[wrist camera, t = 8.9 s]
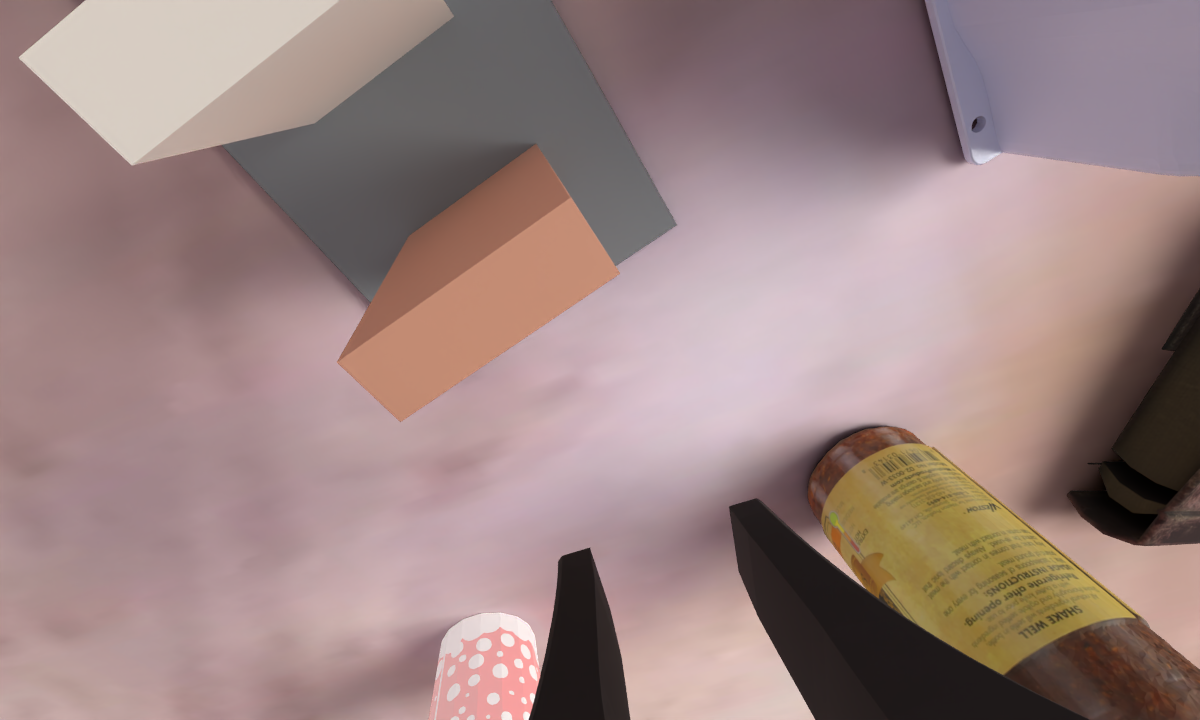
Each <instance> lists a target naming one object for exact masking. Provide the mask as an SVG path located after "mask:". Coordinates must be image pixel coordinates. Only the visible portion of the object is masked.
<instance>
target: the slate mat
mask: <svg viewBox="0 0 1200 720" xmlns="http://www.w3.org/2000/svg"><path fill="white" fill-rule="evenodd" d="M444 1H445V3H446V4H447V6H448V7H449V9H450V11H451V12H452V14H453V15H454V17H453V18H452V19H450V20H449V21H448V22H446V23H445V24H444V25H442V26H441V27H440V28H439V29H437V30H436V31H435V32H433V33H432V34H431V35H429V36H428V37H427V38H425V39H424V40H423V41H422V42H420V43H419V44H418V45H416V46H415V47H414V48H412V49H411V50H410V51H409V52H407V53H406V54H405V55H403V56H402V57H401V58H399V59H398V60H397V61H395V62H394V63H393V64H392V65H390V66H389V67H388V68H386V69H385V70H384V71H382V72H381V73H380V74H378V75H377V76H376V77H375V78H373V79H372V80H371V81H369V82H368V83H367V84H365V85H364V86H363V87H362V88H360V89H359V90H358V91H356V92H355V93H354V94H352V95H351V96H350V97H348V98H347V99H346V100H345V101H343V102H342V103H341V104H339V105H338V106H337V107H335V108H334V109H333V110H331V111H330V112H329V113H328V114H326V115H325V116H324V117H322V118H321V119H320V120H318V121H317V122H316V123H314V124H310V125H305V126H301V127H297V128H292V129H288V130H284V131H279V132H275V133H271V134H266V135H262V136H258V137H253V138H249V139H245V140H240V141H236V142H232V143H227V144H223V145H222V146H223V147H224V148H225V149H226V150H227V151H228V152H229V153H230V155H231V156H232V157H233V158H234V159H235V160H236V161H237V162H238V163H239V164H240V165H241V166H242V167H243V168H244V169H245V170H246V171H247V172H248V174H249V175H250V176H251V177H252V178H253V179H254V180H255V181H256V182H257V183H258V184H259V185H260V186H261V187H262V188H263V189H264V190H265V192H266V193H267V194H268V195H269V196H270V197H271V198H272V199H273V200H274V201H275V202H276V203H277V204H278V205H279V206H280V207H281V208H282V209H283V211H284V212H285V213H286V214H287V215H288V216H289V217H290V218H291V219H292V220H293V221H294V222H295V223H296V224H297V225H298V226H299V227H300V229H301V230H302V231H303V232H304V233H305V234H306V235H307V236H308V237H309V238H310V239H311V240H312V241H313V242H314V243H315V244H316V245H317V246H318V248H319V249H320V250H321V251H322V252H323V253H324V254H325V255H326V256H327V257H328V258H329V259H330V260H331V261H332V262H333V263H334V264H335V266H336V267H337V268H338V269H339V270H340V271H341V272H342V273H343V274H344V275H345V276H346V277H347V278H348V279H349V280H350V281H351V282H352V283H353V285H354V286H355V287H356V288H357V289H358V290H359V291H360V292H361V293H362V294H363V295H364V296H365V297H366V298H367V299H368V300H369V301H370V303H371V302H372V300H373V298H374V296H375V294H376V293H377V291H378V289H379V287H380V286H381V284H382V282H383V280H384V279H385V277H386V275H387V273H388V272H389V270H390V268H391V266H392V265H393V263H394V261H395V259H396V258H397V256H398V254H399V252H400V251H401V249H402V247H403V245H404V244H405V242H406V240H407V238H408V237H409V236H410V235H411V234H412V233H414V232H415V231H416V230H418V229H419V228H421V227H422V226H423V225H425V224H426V223H427V222H429V221H430V220H432V219H433V218H434V217H436V216H437V215H438V214H440V213H441V212H443V211H444V210H445V209H447V208H448V207H449V206H451V205H452V204H454V203H455V202H456V201H458V200H459V199H460V198H462V197H463V196H465V195H466V194H467V193H469V192H470V191H471V190H473V189H474V188H476V187H477V186H478V185H480V184H481V183H483V182H484V181H485V180H487V179H488V178H489V177H491V176H492V175H494V174H495V173H496V172H498V171H499V170H500V169H502V168H503V167H505V166H506V165H507V164H509V163H510V162H511V161H513V160H514V159H516V158H517V157H518V156H520V155H521V154H522V153H524V152H525V151H527V150H528V149H529V148H531V147H532V146H533V145H535V144H537V146H538V147H539V149H540V150H541V152H542V153H543V155H544V156H545V158H546V159H547V161H548V162H549V164H550V165H551V167H552V169H553V170H554V172H555V173H556V175H557V176H558V178H559V179H560V181H561V182H562V184H563V185H564V187H565V188H566V190H567V191H568V193H569V195H570V196H571V198H572V199H573V201H574V202H575V204H576V205H577V207H578V209H579V210H580V212H581V213H582V215H583V216H584V218H585V219H586V221H587V223H588V224H589V226H590V227H591V229H592V230H593V232H594V233H595V235H596V237H597V238H598V240H599V241H600V243H601V244H602V246H603V247H604V249H605V251H606V252H607V254H608V255H609V257H610V258H611V260H612V261H613V263H614V265H615V266H616V265H618V264H619V263H621V262H622V261H624V260H625V259H627V258H628V257H630V256H631V255H633V254H634V253H636V252H637V251H639V250H640V249H642V248H643V247H645V246H646V245H648V244H649V243H651V242H652V241H654V240H655V239H657V238H658V237H660V236H661V235H663V234H664V233H666V232H667V231H669V230H670V229H672V228H673V227H675V226H676V225H677V224H676V222H675V221H674V219H673V217H672V215H671V213H670V212H669V210H668V208H667V206H666V205H665V203H664V201H663V199H662V197H661V196H660V194H659V192H658V190H657V188H656V187H655V185H654V183H653V181H652V180H651V178H650V176H649V174H648V172H647V171H646V169H645V167H644V165H643V164H642V162H641V160H640V158H639V156H638V155H637V153H636V151H635V149H634V147H633V146H632V144H631V142H630V140H629V139H628V137H627V135H626V133H625V131H624V130H623V128H622V126H621V124H620V123H619V121H618V119H617V117H616V115H615V114H614V112H613V110H612V108H611V106H610V105H609V103H608V101H607V99H606V98H605V96H604V94H603V92H602V90H601V89H600V87H599V85H598V83H597V82H596V80H595V78H594V76H593V74H592V73H591V71H590V69H589V67H588V65H587V64H586V62H585V60H584V58H583V57H582V55H581V53H580V51H579V49H578V48H577V46H576V44H575V42H574V41H573V39H572V37H571V35H570V33H569V32H568V30H567V28H566V26H565V24H564V23H563V21H562V19H561V17H560V16H559V14H558V12H557V10H556V8H555V7H554V5H553V3H552V1H551V0H444Z"/></svg>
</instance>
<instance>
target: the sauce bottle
mask: <svg viewBox="0 0 1200 720" xmlns="http://www.w3.org/2000/svg"><path fill="white" fill-rule="evenodd" d="M808 500H809V504H810V506H811V508H812V510H813V513H814V515H815V516H816V518H817V519H818V520H819V522H820V524H821V525H822V527H823V530H824V533H825V535H826V537H827V538H828V539H829V541H830V542H831V543H832V545H833V546H834V547H835V549H836V550H837V551H838V552H839V554H840V555H841V556H842V558H843V559H844V561H845V562H846V563H847V565H848V566H849V567H850V569H851V570H852V571H853V572H854V574H855V575H856V576H857V578H858V579H859V580H860V582H861V583H862V584H863V586H864V587H865V588H866V589H867V590H868V591H869V592H870V593H872V594H873V595H874V596H876V597H877V598H879V599H880V600H881V601H883V602H884V603H886V604H887V605H889V606H890V607H891V608H893V609H894V610H896V611H897V612H899V613H900V614H902V615H903V616H905V617H906V618H908V619H909V620H911V621H912V622H914V623H915V624H917V625H919V626H920V627H922V628H923V629H925V630H926V631H928V632H929V633H931V634H933V635H934V636H936V637H937V638H939V639H941V640H942V641H944V642H946V643H947V644H949V645H951V646H952V647H954V648H956V649H957V650H959V651H961V652H962V653H964V654H966V655H967V656H969V657H971V658H973V659H974V660H976V661H978V662H980V663H982V664H984V665H986V666H987V667H989V668H991V669H993V670H995V671H997V672H998V673H1000V674H1002V675H1004V676H1006V677H1008V678H1010V679H1011V680H1013V681H1015V682H1017V683H1019V684H1021V685H1022V686H1024V687H1026V688H1028V689H1030V690H1032V691H1033V692H1035V693H1037V694H1039V695H1041V696H1043V697H1045V698H1047V699H1049V700H1051V701H1053V702H1055V703H1057V704H1059V705H1061V706H1064V707H1066V708H1068V709H1070V710H1072V711H1074V712H1076V713H1078V714H1080V715H1082V716H1084V717H1086V718H1088V719H1090V720H1200V669H1198V668H1197V667H1196V666H1194V665H1193V664H1192V663H1191V662H1190V661H1189V660H1187V659H1186V658H1185V657H1184V656H1182V655H1181V654H1180V653H1179V652H1177V651H1176V650H1175V649H1173V648H1172V647H1171V645H1170V644H1168V643H1167V642H1166V641H1165V640H1164V639H1162V638H1161V637H1160V636H1158V635H1157V634H1156V633H1155V632H1153V631H1152V630H1151V629H1150V627H1149V625H1148V623H1147V622H1146V621H1145V620H1144V618H1143V617H1141V616H1140V615H1139V614H1138V613H1137V612H1135V611H1134V610H1133V609H1132V608H1130V607H1129V606H1128V605H1127V604H1126V603H1124V602H1123V601H1122V600H1121V599H1119V598H1118V597H1117V596H1116V595H1115V594H1113V593H1112V592H1111V591H1110V590H1108V589H1107V588H1106V587H1105V586H1104V585H1102V584H1101V583H1100V582H1099V581H1097V580H1096V579H1095V578H1094V577H1093V576H1091V575H1090V574H1089V573H1088V572H1086V571H1085V570H1084V569H1083V568H1082V567H1080V566H1079V565H1078V564H1077V563H1075V562H1074V561H1073V560H1072V559H1070V558H1069V557H1068V556H1067V555H1066V554H1064V553H1063V552H1062V551H1061V550H1059V549H1058V548H1057V547H1056V546H1055V545H1053V544H1052V543H1051V542H1050V541H1048V540H1047V539H1046V538H1045V537H1044V536H1042V535H1041V534H1040V533H1039V532H1037V531H1036V530H1035V529H1034V528H1032V527H1031V526H1030V525H1029V524H1028V523H1026V522H1025V521H1024V520H1023V519H1021V518H1020V517H1019V516H1018V515H1017V514H1015V513H1014V512H1013V511H1012V510H1010V509H1009V508H1008V507H1007V506H1006V505H1004V504H1003V503H1002V502H1001V501H999V500H998V499H997V498H996V497H994V496H993V495H992V494H991V493H989V492H988V491H987V490H986V489H985V488H983V487H982V486H981V485H980V484H978V483H977V482H976V481H975V480H973V479H972V478H971V477H970V476H968V475H967V474H966V473H965V472H963V471H962V470H961V469H960V468H959V467H957V466H956V465H955V464H954V463H953V462H951V461H950V460H949V459H948V458H947V457H945V456H944V455H943V454H942V453H941V452H939V451H938V450H937V449H936V448H934V447H932V448H931V447H929V446H926V445H925V444H924V443H923V442H922V441H920V439H918V438H917V437H916V436H915V435H914V434H913V433H911V432H909V431H907V430H905V429H902V428H897V427H890V426H885V427H878V428H867V429H864V430H861V431H859V432H857V433H853V434H852V435H851V436H849V437H847V438H845V439H842V440H840V441H839V442H838V443H837V444H836V445H835V446H834V447H833V448H832V449H831V450H830V451H828V452H827V453H826V455H825V456H824V457H823V459H822V460H821V461H820V462H819V463H818V465H817V466H816V468H815V469H814V471H813V473H812V474H811V477H810V480H809V486H808Z"/></svg>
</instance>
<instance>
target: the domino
mask: <svg viewBox="0 0 1200 720" xmlns="http://www.w3.org/2000/svg"><path fill="white" fill-rule="evenodd" d="M453 17H454V15H453V14H452V12H451V11H450V9H449V7H448V6H447V4H446V3H445V1H444V0H85V1H84V2H83V3H82V4H80V5H79V6H78V7H77V8H76V9H75V10H73V11H72V12H71V13H70V14H69V15H68V16H66V17H65V18H64V19H63V20H62V21H61V22H59V23H58V24H57V25H56V26H55V27H54V28H52V29H51V30H50V31H49V32H48V33H47V34H45V35H44V36H43V37H42V38H41V39H39V40H38V41H37V42H36V43H35V44H34V45H32V46H31V47H30V48H29V49H28V50H27V51H25V52H24V53H23V54H22V55H21V56H20V57H18V58H19V59H20V60H21V61H22V62H24V63H25V64H26V65H27V66H28V67H29V68H30V69H31V70H32V71H33V72H34V73H35V74H36V75H37V76H38V77H39V78H40V79H41V80H42V81H43V82H45V83H46V84H47V85H48V86H49V87H50V88H51V89H52V90H53V91H54V92H55V93H56V94H57V95H58V96H59V97H60V98H61V99H62V100H63V101H64V102H66V103H67V104H68V105H69V106H70V107H71V108H72V109H73V110H74V111H75V112H76V113H77V114H78V115H79V116H80V117H81V118H82V119H83V120H84V121H85V122H87V123H88V124H89V125H90V126H91V127H92V128H93V129H94V130H95V131H96V132H97V133H98V134H99V135H100V136H101V137H102V138H103V139H104V140H105V141H106V142H108V143H109V144H110V145H111V146H112V147H113V148H114V149H115V150H116V151H117V152H118V153H119V154H120V155H121V156H122V157H123V158H124V159H125V160H126V161H127V162H129V163H130V164H131V165H136V164H141V163H145V162H149V161H154V160H158V159H162V158H167V157H171V156H175V155H180V154H184V153H188V152H193V151H197V150H201V149H206V148H210V147H214V146H219V145H223V144H227V143H232V142H236V141H240V140H245V139H249V138H253V137H258V136H262V135H266V134H271V133H275V132H279V131H284V130H288V129H292V128H297V127H301V126H305V125H310V124H314V123H316V122H317V121H318V120H320V119H321V118H322V117H324V116H325V115H326V114H328V113H329V112H330V111H331V110H333V109H334V108H335V107H337V106H338V105H339V104H341V103H342V102H343V101H345V100H346V99H347V98H348V97H350V96H351V95H352V94H354V93H355V92H356V91H358V90H359V89H360V88H362V87H363V86H364V85H365V84H367V83H368V82H369V81H371V80H372V79H373V78H375V77H376V76H377V75H378V74H380V73H381V72H382V71H384V70H385V69H386V68H388V67H389V66H390V65H392V64H393V63H394V62H395V61H397V60H398V59H399V58H401V57H402V56H403V55H405V54H406V53H407V52H409V51H410V50H411V49H412V48H414V47H415V46H416V45H418V44H419V43H420V42H422V41H423V40H424V39H425V38H427V37H428V36H429V35H431V34H432V33H433V32H435V31H436V30H437V29H439V28H440V27H441V26H442V25H444V24H445V23H446V22H448V21H449V20H450V19H452V18H453Z"/></svg>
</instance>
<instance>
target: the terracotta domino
mask: <svg viewBox="0 0 1200 720" xmlns="http://www.w3.org/2000/svg"><path fill="white" fill-rule="evenodd" d="M619 274H620V272H619V271H618V269H617V268H616V266H615V265H614V263H613V261H612V260H611V258H610V257H609V255H608V254H607V252H606V251H605V249H604V247H603V246H602V244H601V243H600V241H599V240H598V238H597V237H596V235H595V233H594V232H593V230H592V229H591V227H590V226H589V224H588V223H587V221H586V219H585V218H584V216H583V215H582V213H581V212H580V210H579V209H578V207H577V205H576V204H575V202H574V201H573V199H572V198H571V196H570V195H569V193H568V191H567V190H566V188H565V187H564V185H563V184H562V182H561V181H560V179H559V178H558V176H557V175H556V173H555V172H554V170H553V169H552V167H551V165H550V164H549V162H548V161H547V159H546V158H545V156H544V155H543V153H542V152H541V150H540V149H539V147H538V146H537V144H535V145H533V146H532V147H531V148H529V149H528V150H527V151H525V152H524V153H522V154H521V155H520V156H518V157H517V158H516V159H514V160H513V161H511V162H510V163H509V164H507V165H506V166H505V167H503V168H502V169H500V170H499V171H498V172H496V173H495V174H494V175H492V176H491V177H489V178H488V179H487V180H485V181H484V182H483V183H481V184H480V185H478V186H477V187H476V188H474V189H473V190H471V191H470V192H469V193H467V194H466V195H465V196H463V197H462V198H460V199H459V200H458V201H456V202H455V203H454V204H452V205H451V206H449V207H448V208H447V209H445V210H444V211H443V212H441V213H440V214H438V215H437V216H436V217H434V218H433V219H432V220H430V221H429V222H427V223H426V224H425V225H423V226H422V227H421V228H419V229H418V230H416V231H415V232H414V233H412V234H411V235H410V236H409V237H408V238H407V240H406V242H405V244H404V245H403V247H402V249H401V251H400V252H399V254H398V256H397V258H396V259H395V261H394V263H393V265H392V266H391V268H390V270H389V272H388V273H387V275H386V277H385V279H384V280H383V282H382V284H381V286H380V287H379V289H378V291H377V293H376V294H375V296H374V298H373V300H372V302H371V303H370V305H369V307H368V309H367V310H366V312H365V314H364V316H363V317H362V319H361V321H360V323H359V324H358V326H357V328H356V330H355V331H354V333H353V335H352V337H351V338H350V340H349V342H348V344H347V345H346V347H345V349H344V351H343V352H342V354H341V356H340V358H339V360H338V361H337V363H338V364H339V365H340V366H341V367H342V368H343V369H345V370H346V371H347V372H348V373H349V374H350V375H351V376H352V377H353V378H354V379H355V380H356V381H357V382H358V383H359V384H360V385H362V386H363V387H364V388H365V389H366V390H367V391H368V392H369V393H370V394H371V395H372V396H373V397H374V398H375V399H376V400H377V401H379V402H380V403H381V404H382V405H383V406H384V407H385V408H386V409H387V410H388V411H389V412H390V413H391V414H392V415H393V416H394V417H396V418H397V419H398V420H399V421H400V422H401V421H403V420H404V419H406V418H407V417H409V416H410V415H412V414H413V413H415V412H416V411H417V410H419V409H420V408H422V407H423V406H425V405H426V404H428V403H429V402H431V401H432V400H434V399H435V398H437V397H438V396H440V395H441V394H443V393H444V392H446V391H447V390H449V389H450V388H452V387H453V386H454V385H456V384H457V383H459V382H460V381H462V380H463V379H465V378H466V377H468V376H469V375H471V374H472V373H474V372H475V371H477V370H478V369H480V368H481V367H483V366H484V365H486V364H487V363H489V362H490V361H491V360H493V359H494V358H496V357H497V356H499V355H500V354H502V353H503V352H505V351H506V350H508V349H509V348H511V347H512V346H514V345H515V344H517V343H518V342H520V341H521V340H523V339H524V338H526V337H527V336H528V335H530V334H531V333H533V332H534V331H536V330H537V329H539V328H540V327H542V326H543V325H545V324H546V323H548V322H549V321H551V320H552V319H554V318H555V317H557V316H558V315H560V314H561V313H562V312H564V311H565V310H567V309H568V308H570V307H571V306H573V305H574V304H576V303H577V302H579V301H580V300H582V299H583V298H585V297H586V296H588V295H589V294H591V293H592V292H594V291H595V290H597V289H598V288H599V287H601V286H602V285H604V284H605V283H607V282H608V281H610V280H611V279H613V278H614V277H616V276H617V275H619Z"/></svg>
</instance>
